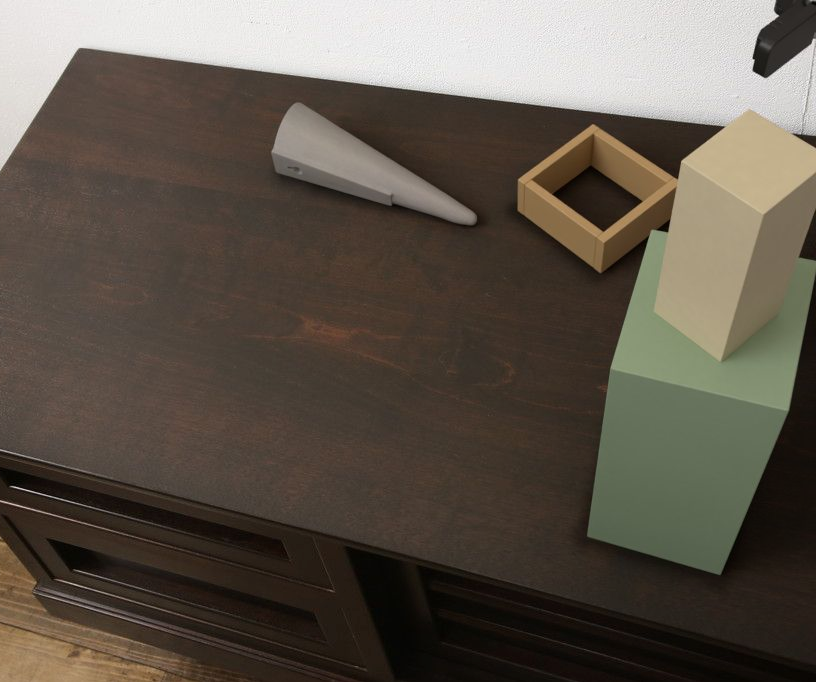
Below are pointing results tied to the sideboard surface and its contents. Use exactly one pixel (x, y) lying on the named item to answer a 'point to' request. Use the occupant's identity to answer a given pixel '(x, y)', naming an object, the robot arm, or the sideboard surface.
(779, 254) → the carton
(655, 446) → the stand
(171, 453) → the sideboard surface
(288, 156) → the grey tapered cone
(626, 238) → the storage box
